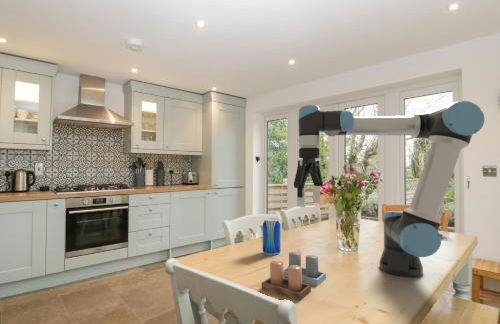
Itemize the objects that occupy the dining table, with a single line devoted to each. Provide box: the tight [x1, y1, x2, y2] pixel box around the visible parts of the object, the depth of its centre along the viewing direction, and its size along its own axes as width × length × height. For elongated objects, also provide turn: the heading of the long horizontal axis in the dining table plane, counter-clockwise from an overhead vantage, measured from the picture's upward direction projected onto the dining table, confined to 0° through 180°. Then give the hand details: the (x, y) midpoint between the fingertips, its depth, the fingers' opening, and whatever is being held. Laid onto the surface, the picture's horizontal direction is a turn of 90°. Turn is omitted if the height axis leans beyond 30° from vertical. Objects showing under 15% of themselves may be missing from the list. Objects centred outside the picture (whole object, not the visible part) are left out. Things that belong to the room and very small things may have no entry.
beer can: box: [262, 217, 282, 257], centre depth 131 cm, size 8×8×16 cm
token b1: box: [288, 251, 302, 267], centre depth 103 cm, size 4×4×8 cm
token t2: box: [287, 265, 303, 293], centre depth 89 cm, size 4×4×8 cm
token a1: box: [269, 260, 284, 288], centre depth 93 cm, size 4×4×8 cm
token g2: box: [305, 254, 319, 279], centre depth 99 cm, size 4×4×8 cm
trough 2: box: [283, 266, 327, 287], centre depth 101 cm, size 14×8×2 cm, turn 53°
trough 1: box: [261, 277, 312, 302], centre depth 91 cm, size 14×8×2 cm, turn 53°
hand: (309, 204), depth 104 cm, fingers open, 13 cm apart
